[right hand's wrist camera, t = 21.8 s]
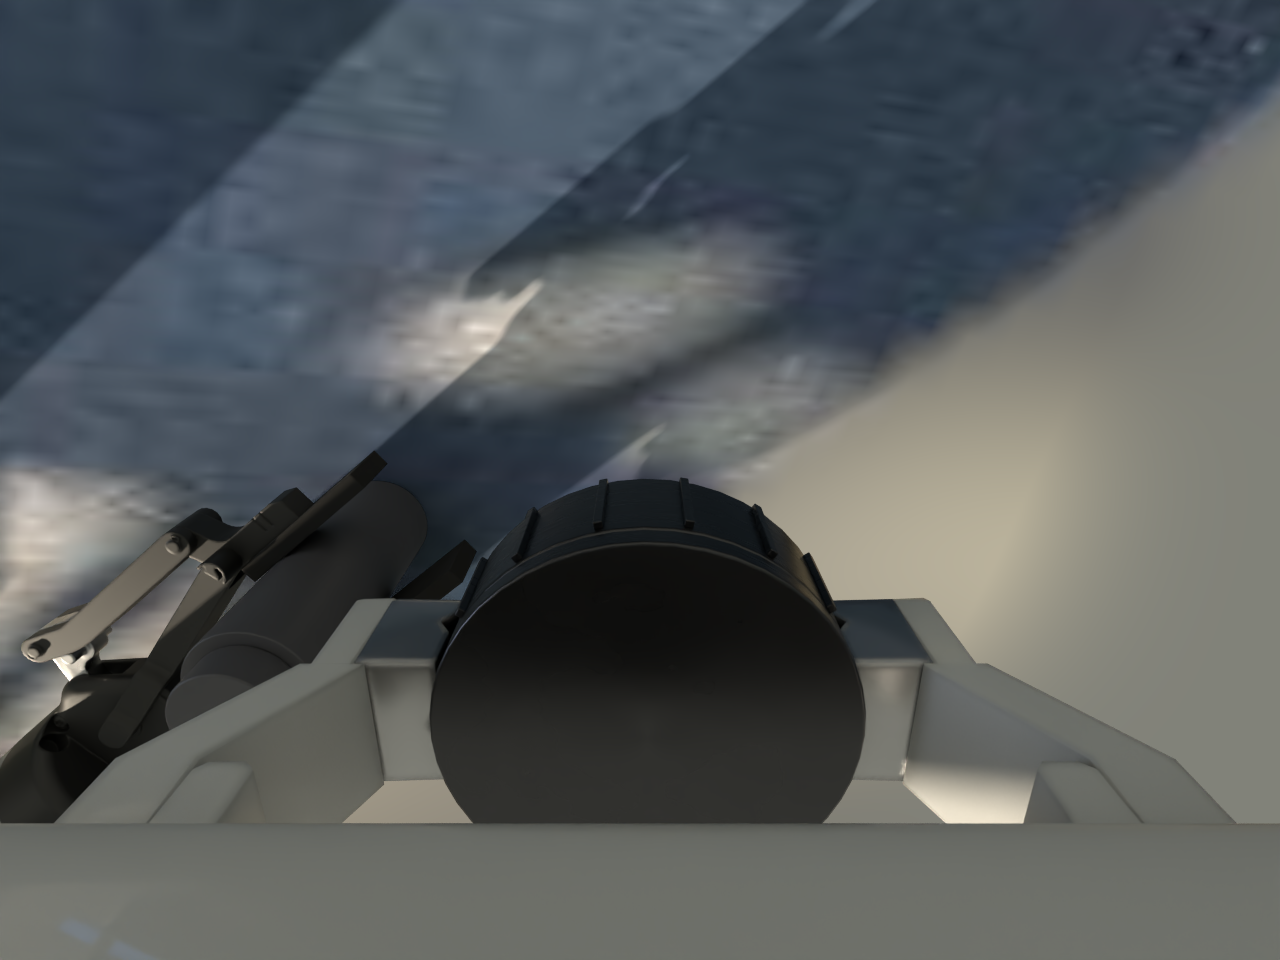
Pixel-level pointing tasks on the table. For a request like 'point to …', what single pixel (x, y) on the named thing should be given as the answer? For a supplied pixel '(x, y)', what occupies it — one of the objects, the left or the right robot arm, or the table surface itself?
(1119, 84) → the table surface
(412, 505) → the dark gray cylinder
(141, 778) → the right robot arm
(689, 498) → the lid
